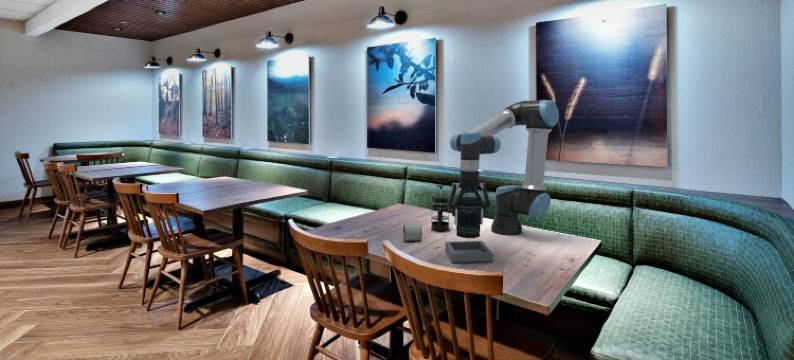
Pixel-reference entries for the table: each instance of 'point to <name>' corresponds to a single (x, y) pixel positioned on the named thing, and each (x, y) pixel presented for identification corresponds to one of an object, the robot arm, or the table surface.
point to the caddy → (468, 252)
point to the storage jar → (468, 217)
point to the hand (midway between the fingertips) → (468, 223)
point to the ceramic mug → (412, 232)
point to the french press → (440, 213)
